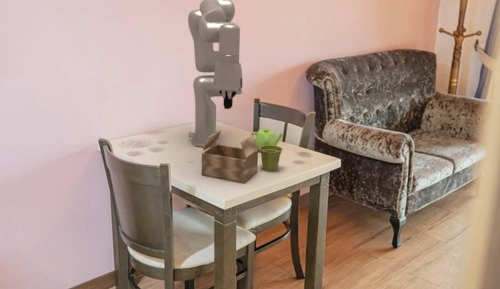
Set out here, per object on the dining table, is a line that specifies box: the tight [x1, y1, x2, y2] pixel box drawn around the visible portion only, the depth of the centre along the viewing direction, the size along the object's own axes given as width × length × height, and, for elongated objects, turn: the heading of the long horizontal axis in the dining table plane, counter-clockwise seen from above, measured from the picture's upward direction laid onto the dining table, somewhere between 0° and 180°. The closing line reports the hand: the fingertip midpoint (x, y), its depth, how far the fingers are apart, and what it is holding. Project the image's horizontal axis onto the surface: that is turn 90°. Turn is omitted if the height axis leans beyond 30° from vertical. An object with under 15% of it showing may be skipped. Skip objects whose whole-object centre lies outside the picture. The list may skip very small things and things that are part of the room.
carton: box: [201, 143, 259, 185], centre depth 191 cm, size 18×13×9 cm
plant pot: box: [259, 145, 283, 172], centre depth 198 cm, size 9×9×9 cm
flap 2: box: [240, 134, 258, 158], centre depth 186 cm, size 6×11×1 cm
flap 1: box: [202, 129, 222, 152], centre depth 191 cm, size 6×11×1 cm
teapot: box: [250, 128, 284, 153], centre depth 221 cm, size 12×12×10 cm
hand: (227, 108), depth 185 cm, fingers closed
